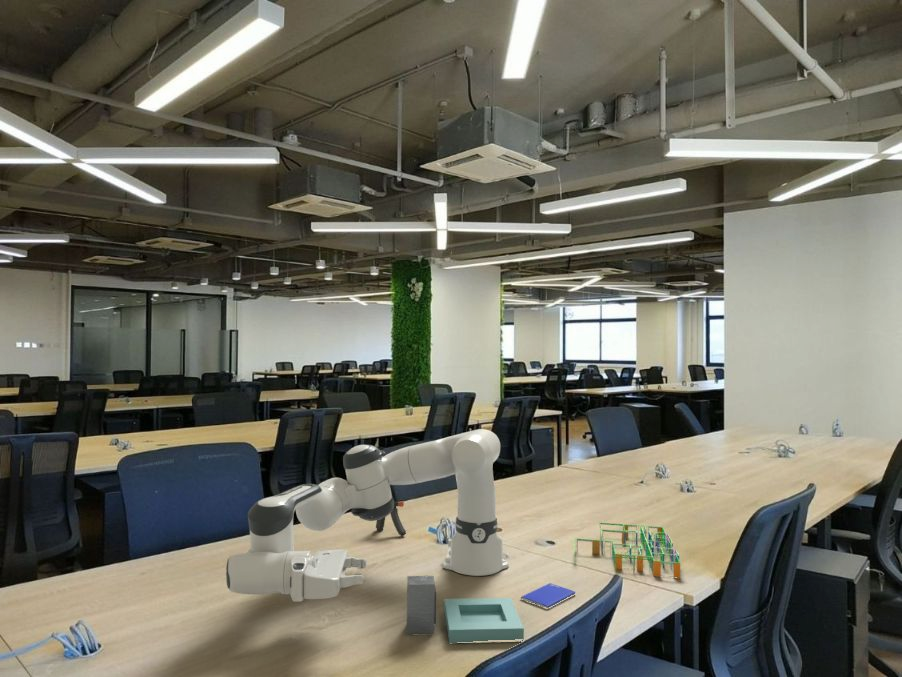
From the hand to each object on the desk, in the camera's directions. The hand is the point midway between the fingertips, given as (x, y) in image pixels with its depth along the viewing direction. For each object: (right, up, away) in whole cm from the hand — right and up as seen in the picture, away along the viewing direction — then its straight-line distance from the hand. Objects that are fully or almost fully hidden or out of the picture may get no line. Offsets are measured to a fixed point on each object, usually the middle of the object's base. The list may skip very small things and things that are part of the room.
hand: (364, 571), depth 135 cm
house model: (+73, -16, +54) cm, 92 cm away
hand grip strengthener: (-1, -15, +71) cm, 73 cm away
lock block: (+12, -14, +1) cm, 18 cm away
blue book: (+44, -15, +20) cm, 50 cm away
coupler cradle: (+26, -14, +3) cm, 30 cm away
